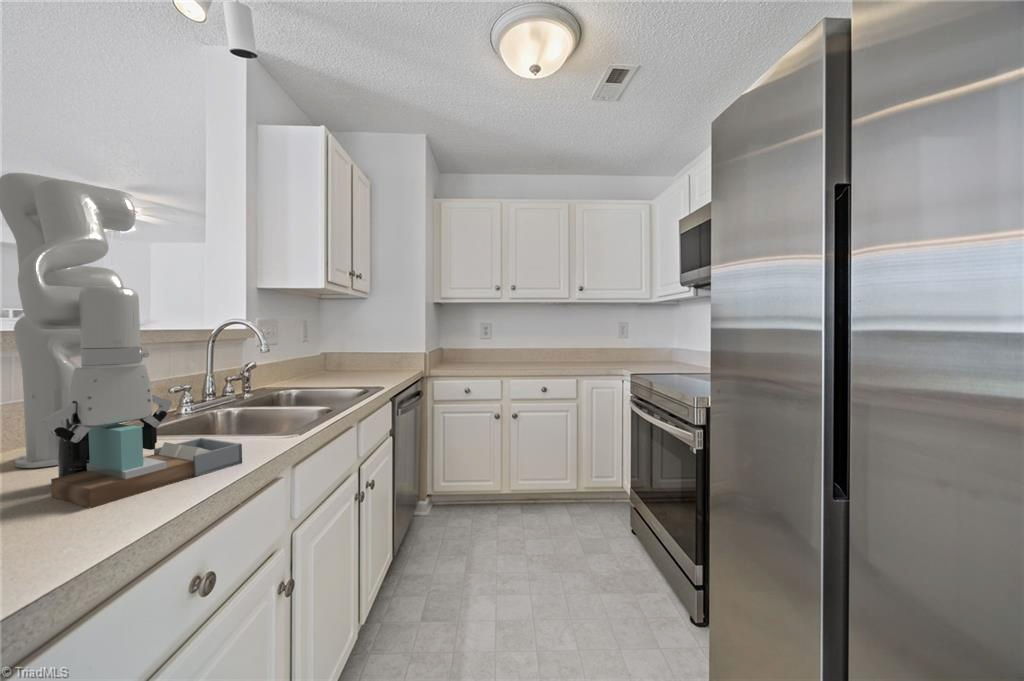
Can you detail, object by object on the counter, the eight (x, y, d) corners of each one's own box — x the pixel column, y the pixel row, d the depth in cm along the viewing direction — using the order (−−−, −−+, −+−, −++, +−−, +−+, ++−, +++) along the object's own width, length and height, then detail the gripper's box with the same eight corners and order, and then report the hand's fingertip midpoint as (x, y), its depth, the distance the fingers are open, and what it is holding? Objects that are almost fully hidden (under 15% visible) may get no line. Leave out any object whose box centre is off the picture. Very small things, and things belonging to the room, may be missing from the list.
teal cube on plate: (86, 470, 75) (85, 425, 75) (128, 460, 80) (126, 418, 80) (125, 479, 70) (124, 431, 70) (166, 468, 76) (165, 423, 76)
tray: (154, 468, 85) (154, 448, 85) (202, 455, 93) (201, 437, 93) (195, 476, 80) (195, 455, 80) (242, 462, 88) (241, 443, 88)
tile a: (158, 454, 84) (164, 442, 85) (182, 459, 88) (188, 448, 89) (173, 457, 82) (179, 444, 83) (198, 462, 86) (203, 450, 87)
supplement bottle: (78, 489, 74) (75, 421, 73) (48, 487, 75) (45, 420, 75) (121, 476, 80) (119, 413, 80) (93, 474, 82) (91, 412, 82)
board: (51, 496, 71) (51, 479, 71) (156, 468, 85) (155, 454, 84) (90, 508, 66) (89, 489, 66) (194, 476, 80) (193, 460, 80)
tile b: (175, 457, 82) (182, 444, 83) (200, 463, 86) (206, 450, 87) (192, 460, 80) (198, 447, 81) (216, 466, 84) (222, 453, 85)
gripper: (157, 354, 83) (159, 441, 83) (29, 361, 67) (34, 469, 67) (180, 355, 80) (183, 445, 80) (53, 362, 64) (58, 475, 64)
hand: (115, 456), depth 74 cm, fingers open, 9 cm apart
